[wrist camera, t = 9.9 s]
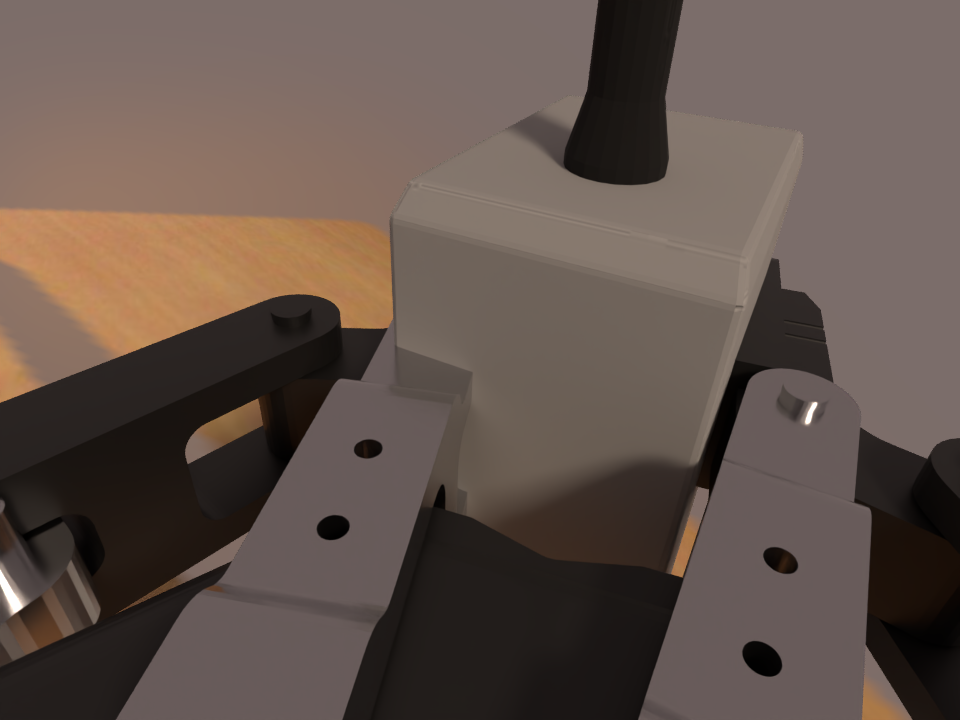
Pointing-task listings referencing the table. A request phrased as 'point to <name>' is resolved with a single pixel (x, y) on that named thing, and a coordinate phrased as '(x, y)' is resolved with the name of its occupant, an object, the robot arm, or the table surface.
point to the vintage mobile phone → (594, 296)
